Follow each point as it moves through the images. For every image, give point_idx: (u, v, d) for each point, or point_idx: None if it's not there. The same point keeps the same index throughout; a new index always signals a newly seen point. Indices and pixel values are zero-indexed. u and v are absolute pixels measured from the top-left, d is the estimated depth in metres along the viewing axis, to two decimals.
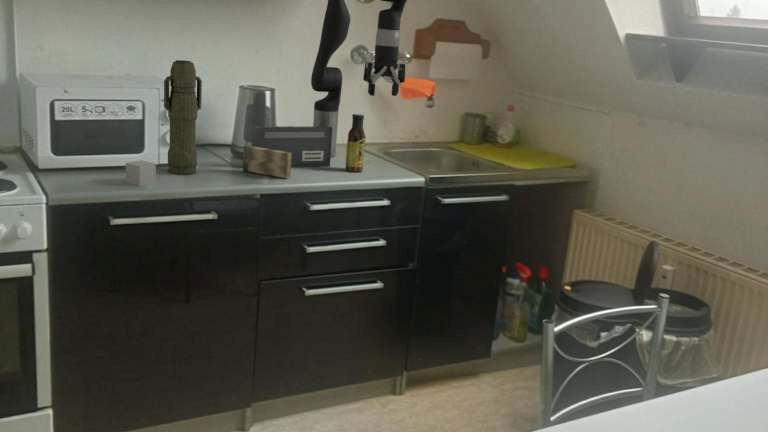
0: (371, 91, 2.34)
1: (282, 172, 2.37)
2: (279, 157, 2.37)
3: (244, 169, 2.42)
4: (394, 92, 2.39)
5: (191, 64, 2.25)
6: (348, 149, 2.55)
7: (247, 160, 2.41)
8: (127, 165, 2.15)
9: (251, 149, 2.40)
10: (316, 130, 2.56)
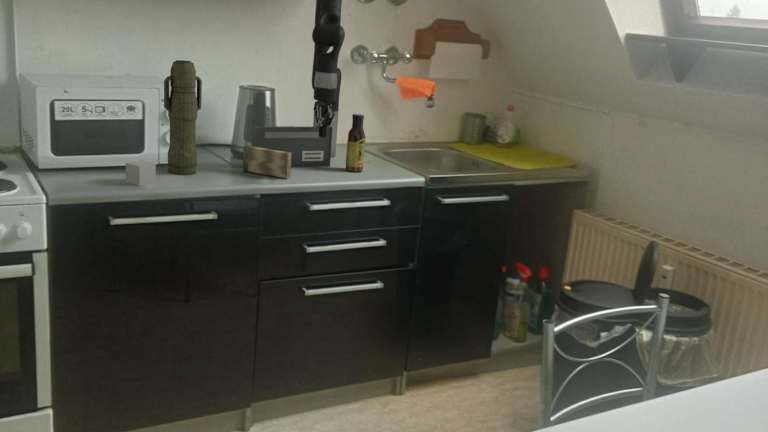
0: (325, 133, 2.49)
1: (282, 172, 2.37)
2: (279, 157, 2.37)
3: (244, 169, 2.42)
4: None
5: (191, 64, 2.25)
6: (348, 149, 2.55)
7: (247, 160, 2.41)
8: (127, 165, 2.15)
9: (251, 149, 2.40)
10: (316, 130, 2.56)
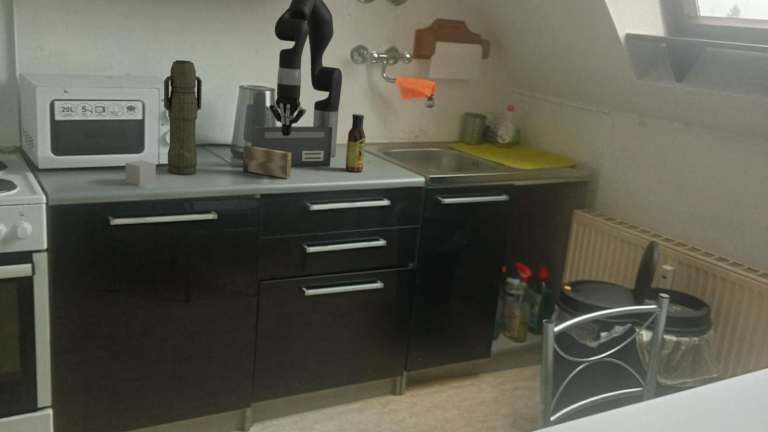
0: None
1: (282, 172, 2.37)
2: (279, 157, 2.37)
3: (244, 169, 2.42)
4: None
5: (191, 64, 2.25)
6: (348, 149, 2.55)
7: (247, 160, 2.41)
8: (127, 165, 2.15)
9: (251, 149, 2.40)
10: (316, 130, 2.56)
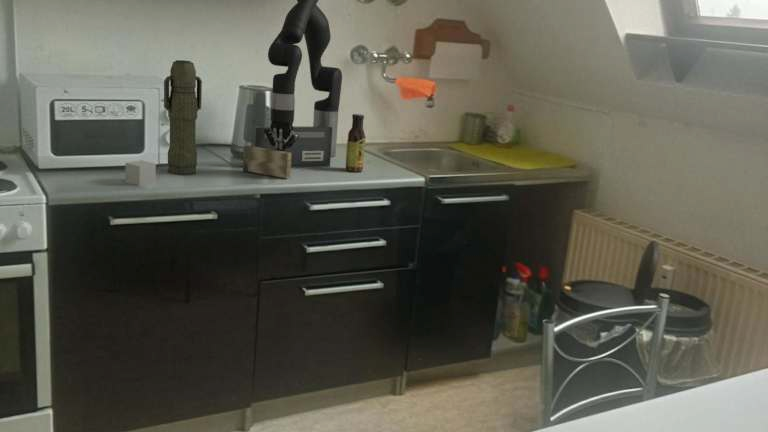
0: None
1: (282, 172, 2.37)
2: (279, 157, 2.37)
3: (244, 169, 2.42)
4: None
5: (191, 64, 2.25)
6: (348, 149, 2.55)
7: (247, 160, 2.41)
8: (127, 165, 2.15)
9: (251, 149, 2.40)
10: (316, 130, 2.56)
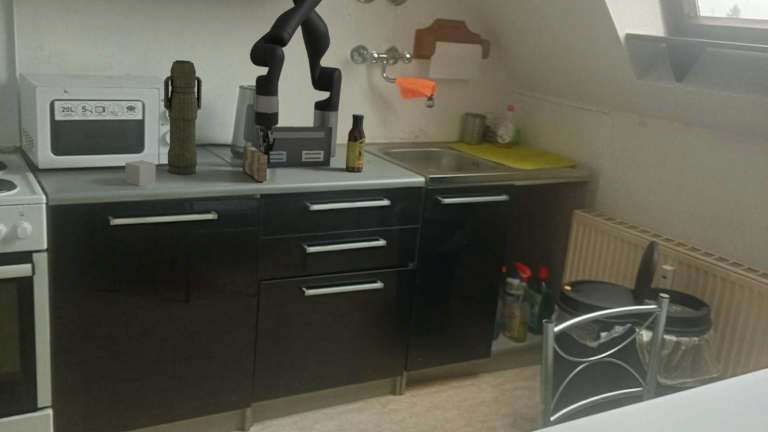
0: (268, 159, 2.34)
1: (257, 175, 2.31)
2: (256, 159, 2.31)
3: None
4: None
5: (191, 64, 2.25)
6: (348, 149, 2.55)
7: (244, 160, 2.42)
8: (127, 165, 2.15)
9: (246, 149, 2.39)
10: (316, 130, 2.56)
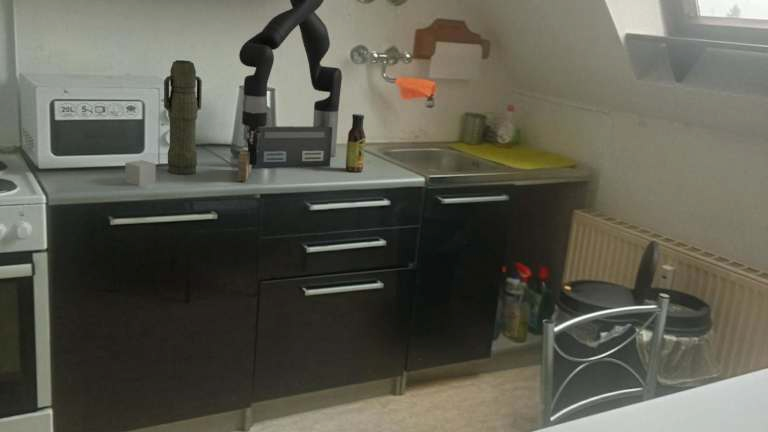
0: (254, 161, 2.31)
1: None
2: None
3: None
4: None
5: (191, 64, 2.25)
6: (348, 149, 2.55)
7: None
8: (127, 165, 2.15)
9: None
10: (316, 130, 2.56)
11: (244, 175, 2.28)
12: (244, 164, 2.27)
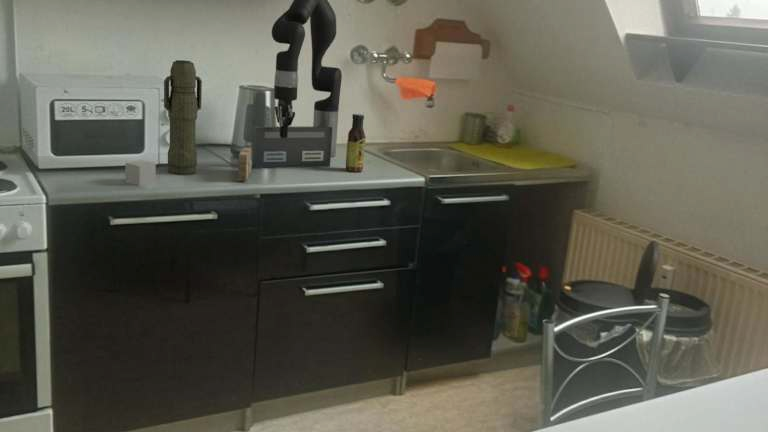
0: (286, 133, 2.42)
1: None
2: None
3: None
4: None
5: (191, 64, 2.25)
6: (348, 149, 2.55)
7: None
8: (127, 165, 2.15)
9: None
10: (316, 130, 2.56)
11: (244, 175, 2.28)
12: (244, 164, 2.27)
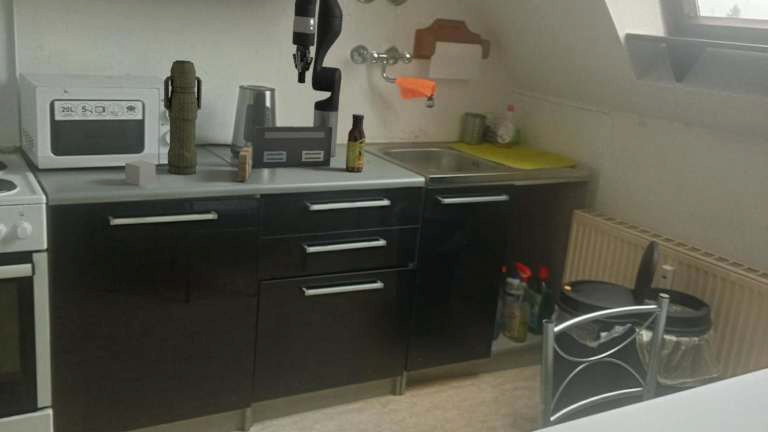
0: (304, 79, 2.50)
1: None
2: None
3: None
4: None
5: (191, 64, 2.25)
6: (348, 149, 2.55)
7: None
8: (127, 165, 2.15)
9: None
10: (316, 130, 2.56)
11: (244, 175, 2.28)
12: (244, 164, 2.27)
